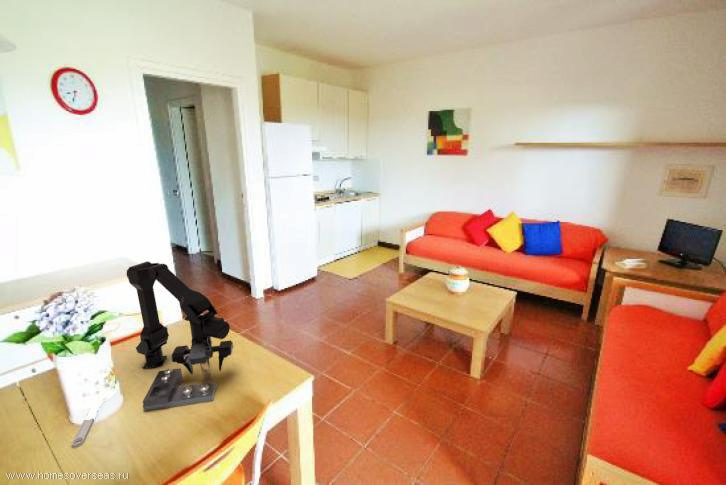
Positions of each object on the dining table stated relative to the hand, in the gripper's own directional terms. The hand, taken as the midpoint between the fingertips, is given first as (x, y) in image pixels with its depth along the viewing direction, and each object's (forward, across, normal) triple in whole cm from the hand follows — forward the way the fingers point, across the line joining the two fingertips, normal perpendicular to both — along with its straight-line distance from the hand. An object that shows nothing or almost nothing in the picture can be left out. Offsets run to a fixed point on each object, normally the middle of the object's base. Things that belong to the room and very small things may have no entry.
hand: (206, 372), depth 121 cm
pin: (+2, 0, 0) cm, 2 cm away
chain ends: (+2, -6, -6) cm, 9 cm away
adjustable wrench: (+3, -31, -10) cm, 33 cm away
